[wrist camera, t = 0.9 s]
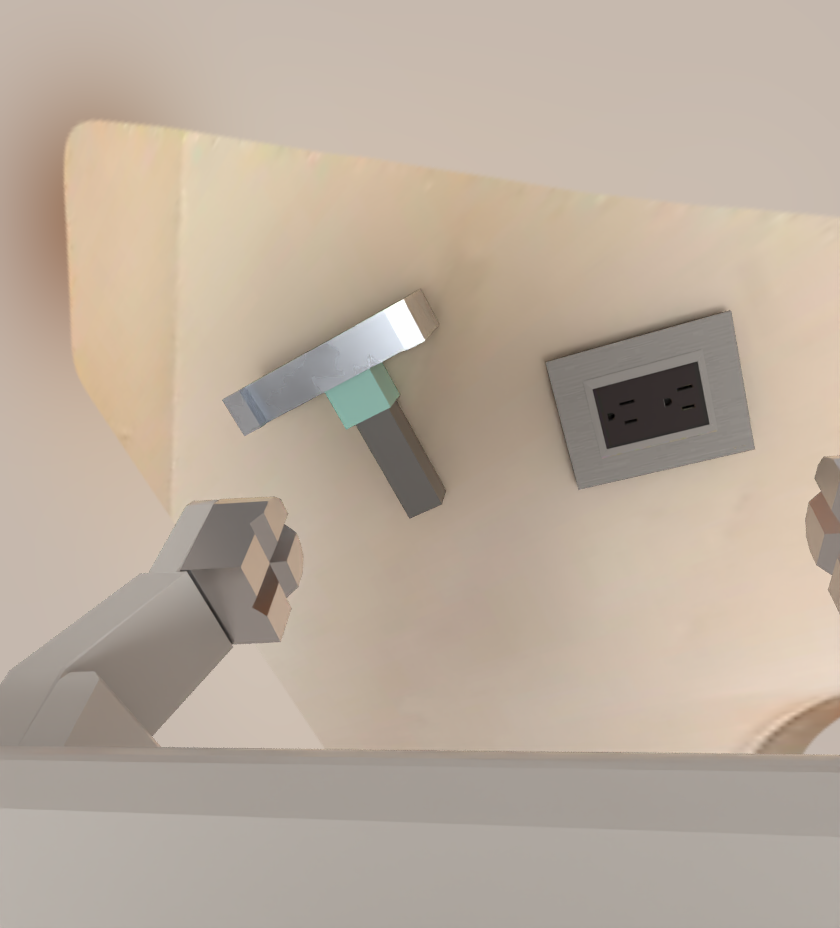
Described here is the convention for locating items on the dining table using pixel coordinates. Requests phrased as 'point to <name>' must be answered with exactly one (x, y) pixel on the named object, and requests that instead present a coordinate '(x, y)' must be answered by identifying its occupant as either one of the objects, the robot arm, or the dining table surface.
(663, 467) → the electrical outlet
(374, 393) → the plug
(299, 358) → the grey piece
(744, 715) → the dining table surface
